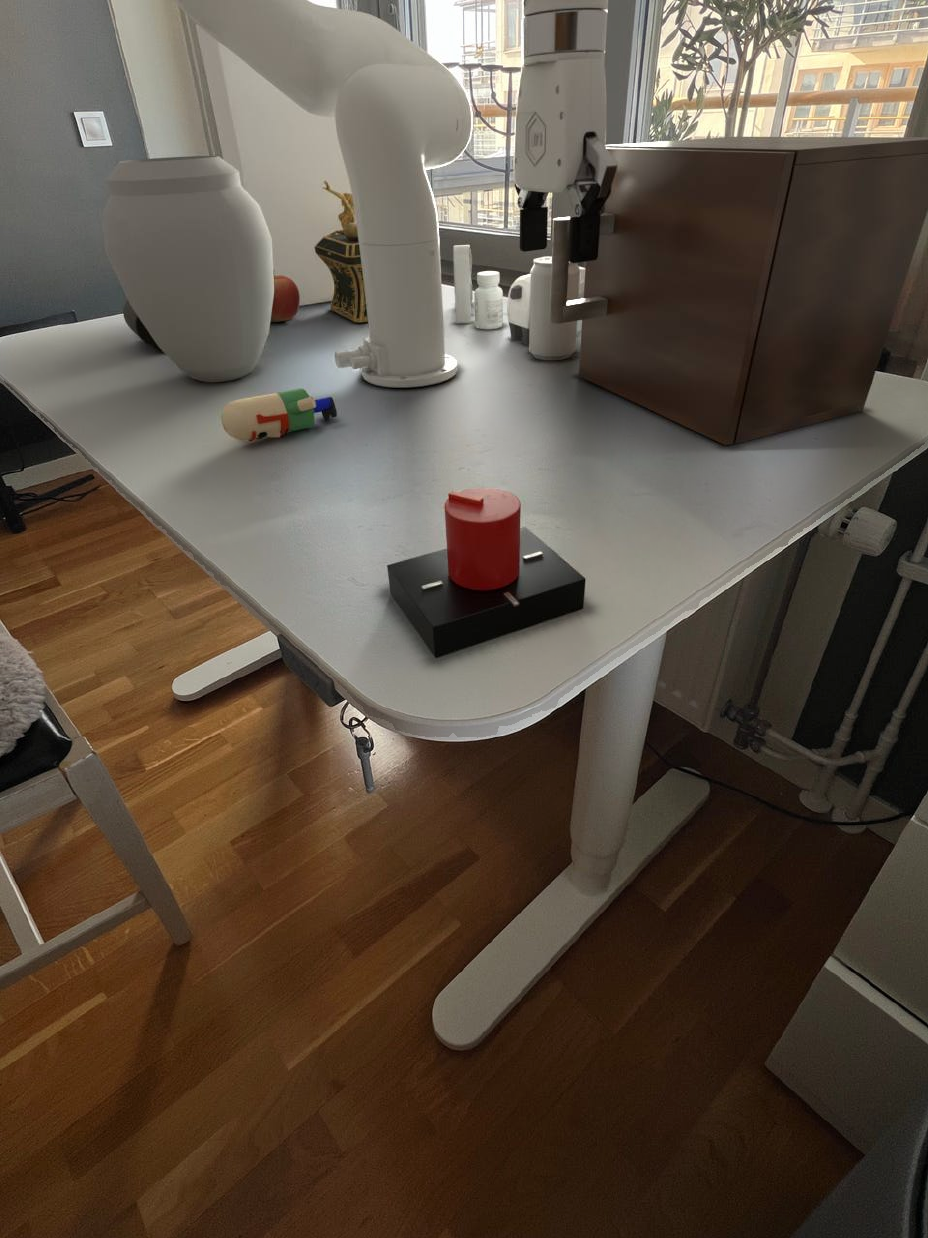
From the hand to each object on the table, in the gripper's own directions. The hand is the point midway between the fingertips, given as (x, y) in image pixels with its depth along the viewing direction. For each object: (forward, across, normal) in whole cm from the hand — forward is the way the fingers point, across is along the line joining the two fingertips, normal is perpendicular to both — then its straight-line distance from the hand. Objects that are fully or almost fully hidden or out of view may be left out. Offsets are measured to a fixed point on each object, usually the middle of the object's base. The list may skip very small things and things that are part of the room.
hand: (556, 255), depth 71 cm
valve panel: (+15, +34, -26) cm, 45 cm away
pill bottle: (+15, -33, +9) cm, 38 cm away
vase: (+15, -31, -33) cm, 48 cm away
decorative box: (+15, -52, -5) cm, 55 cm away
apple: (+14, -57, -19) cm, 62 cm away
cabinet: (+15, +9, +17) cm, 24 cm away
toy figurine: (+15, -5, -31) cm, 35 cm away
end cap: (+14, -52, -39) cm, 67 cm away
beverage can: (+15, -14, +9) cm, 23 cm away
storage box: (+14, -72, -9) cm, 74 cm away
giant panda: (+15, -23, +14) cm, 31 cm away
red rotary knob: (+13, +34, -26) cm, 44 cm away
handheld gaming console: (+15, -44, +10) cm, 48 cm away
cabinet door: (+15, +9, +4) cm, 18 cm away
